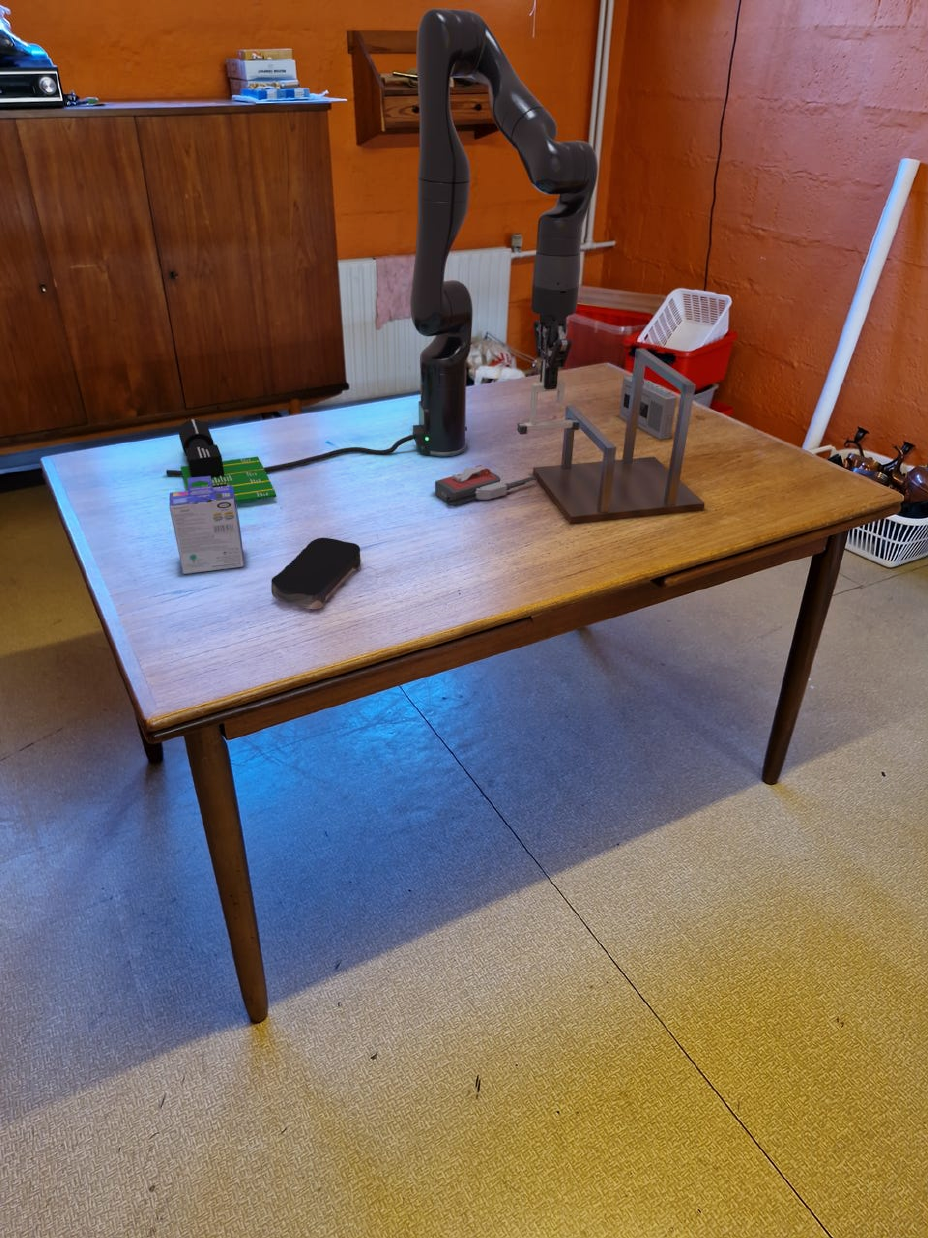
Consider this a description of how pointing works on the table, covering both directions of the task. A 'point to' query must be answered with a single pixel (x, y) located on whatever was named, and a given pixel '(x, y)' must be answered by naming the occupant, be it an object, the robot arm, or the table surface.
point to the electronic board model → (221, 465)
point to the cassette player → (650, 408)
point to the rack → (623, 464)
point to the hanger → (534, 425)
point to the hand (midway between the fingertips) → (548, 386)
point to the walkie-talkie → (474, 486)
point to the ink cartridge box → (206, 527)
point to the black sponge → (316, 572)
